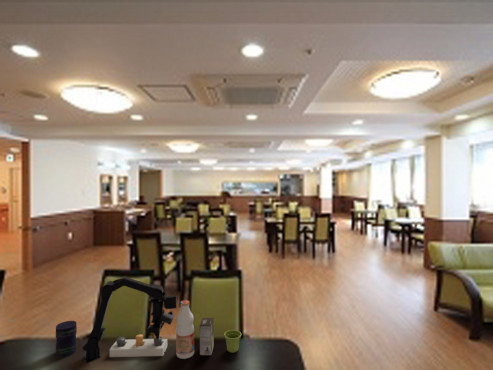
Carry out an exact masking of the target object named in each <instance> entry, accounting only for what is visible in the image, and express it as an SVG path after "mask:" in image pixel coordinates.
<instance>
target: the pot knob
mask: <svg viewBox="0 0 493 370" xmlns="http://www.w3.org/2000/svg"><path fill="white" fill-rule="evenodd" d="M135 339H136V346H142V345H143V339H144V335H143V334H137V335H135Z"/></svg>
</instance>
